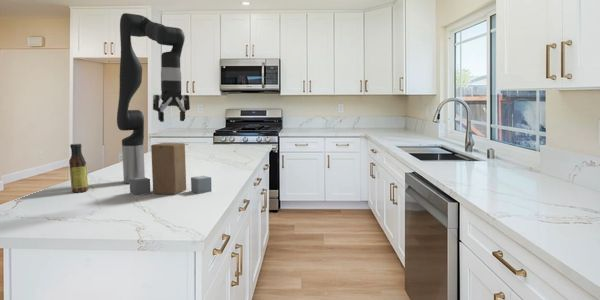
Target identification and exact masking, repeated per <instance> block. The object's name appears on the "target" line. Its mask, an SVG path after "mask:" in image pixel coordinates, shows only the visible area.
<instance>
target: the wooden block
mask: <svg viewBox="0 0 600 300" xmlns="http://www.w3.org/2000/svg"><path fill="white" fill-rule="evenodd" d="M150 147H151V148H150V150H151V151H150V152H151V154H150V155H151V172H152V173H151V174H152V175H151V177H152V193H153V194H154V195H171V196H172V195H174V196H175V195H177V194H180V193H182V192H184V191H186V190H187V171H186V170H187V169H186V168H187V167H186V166H187V165H186V144H185V142H159V143H156V144H151V145H150Z"/></svg>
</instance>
